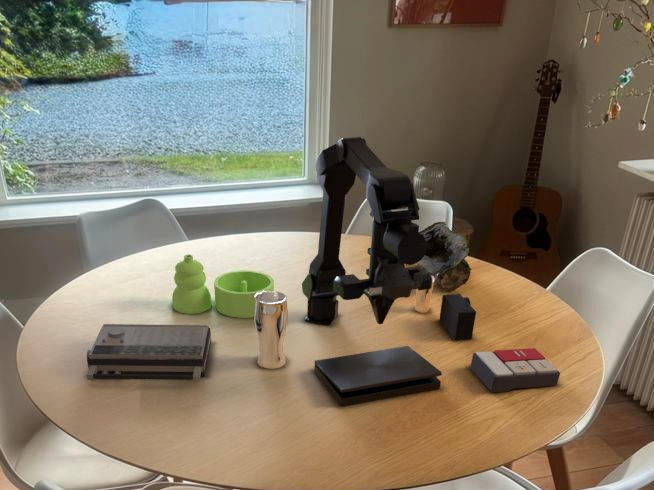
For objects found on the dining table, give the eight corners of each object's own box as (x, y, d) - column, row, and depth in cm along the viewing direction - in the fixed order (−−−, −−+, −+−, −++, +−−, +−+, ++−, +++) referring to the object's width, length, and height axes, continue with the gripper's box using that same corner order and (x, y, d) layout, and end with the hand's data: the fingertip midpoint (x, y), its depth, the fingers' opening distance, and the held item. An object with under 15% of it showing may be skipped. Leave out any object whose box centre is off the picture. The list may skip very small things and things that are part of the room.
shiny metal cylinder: (433, 315, 178) (438, 276, 172) (411, 312, 179) (416, 274, 173) (434, 307, 182) (439, 269, 176) (413, 305, 183) (417, 267, 177)
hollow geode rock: (453, 316, 189) (499, 276, 183) (422, 285, 182) (470, 242, 177) (426, 272, 211) (467, 235, 205) (398, 243, 204) (439, 204, 199)
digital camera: (476, 339, 168) (481, 311, 164) (454, 340, 167) (459, 312, 163) (460, 319, 176) (464, 292, 172) (439, 321, 175) (442, 294, 171)
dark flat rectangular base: (439, 389, 149) (441, 380, 148) (341, 406, 143) (341, 398, 142) (407, 356, 161) (407, 348, 160) (314, 371, 154) (314, 363, 153)
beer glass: (263, 372, 154) (262, 306, 145) (250, 358, 159) (248, 293, 150) (292, 365, 156) (293, 300, 147) (278, 352, 161) (278, 288, 152)
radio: (210, 320, 161) (200, 364, 145) (211, 342, 164) (202, 387, 148) (99, 319, 161) (78, 362, 145) (103, 341, 164) (82, 385, 148)
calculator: (562, 370, 149) (496, 374, 146) (556, 388, 152) (491, 392, 148) (536, 345, 158) (473, 349, 154) (531, 363, 160) (469, 367, 157)
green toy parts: (273, 293, 187) (272, 245, 180) (274, 317, 176) (274, 267, 168) (175, 293, 186) (171, 245, 178) (170, 318, 174) (165, 267, 167)
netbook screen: (441, 376, 148) (442, 372, 147) (341, 393, 141) (341, 389, 141) (407, 348, 160) (408, 345, 159) (314, 364, 153) (314, 360, 153)
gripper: (357, 266, 127) (352, 347, 136) (451, 255, 132) (440, 333, 141) (333, 246, 135) (330, 323, 144) (422, 236, 141) (414, 311, 150)
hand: (379, 323), depth 145 cm, fingers closed
